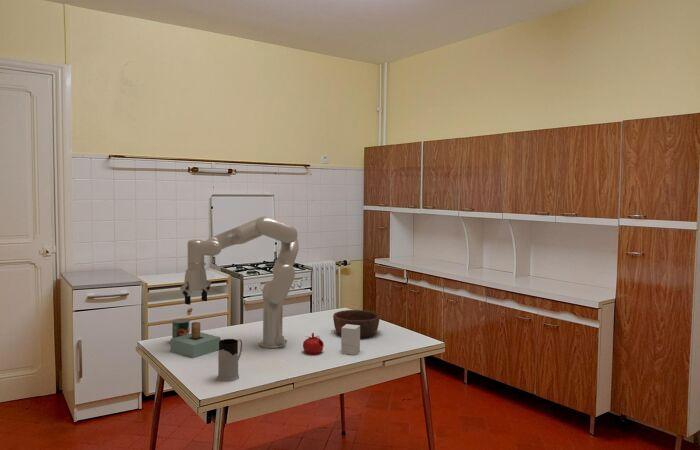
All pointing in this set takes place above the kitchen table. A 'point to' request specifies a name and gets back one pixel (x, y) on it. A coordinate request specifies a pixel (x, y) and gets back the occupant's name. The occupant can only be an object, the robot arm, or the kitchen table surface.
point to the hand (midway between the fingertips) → (196, 302)
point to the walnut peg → (195, 331)
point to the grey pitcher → (228, 360)
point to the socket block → (195, 345)
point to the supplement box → (350, 339)
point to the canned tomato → (180, 327)
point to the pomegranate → (313, 345)
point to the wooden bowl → (357, 321)
